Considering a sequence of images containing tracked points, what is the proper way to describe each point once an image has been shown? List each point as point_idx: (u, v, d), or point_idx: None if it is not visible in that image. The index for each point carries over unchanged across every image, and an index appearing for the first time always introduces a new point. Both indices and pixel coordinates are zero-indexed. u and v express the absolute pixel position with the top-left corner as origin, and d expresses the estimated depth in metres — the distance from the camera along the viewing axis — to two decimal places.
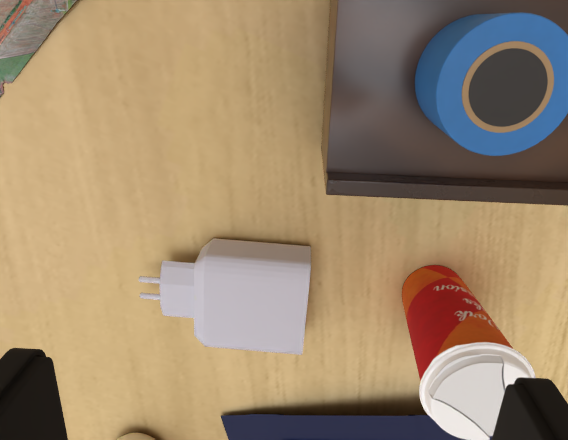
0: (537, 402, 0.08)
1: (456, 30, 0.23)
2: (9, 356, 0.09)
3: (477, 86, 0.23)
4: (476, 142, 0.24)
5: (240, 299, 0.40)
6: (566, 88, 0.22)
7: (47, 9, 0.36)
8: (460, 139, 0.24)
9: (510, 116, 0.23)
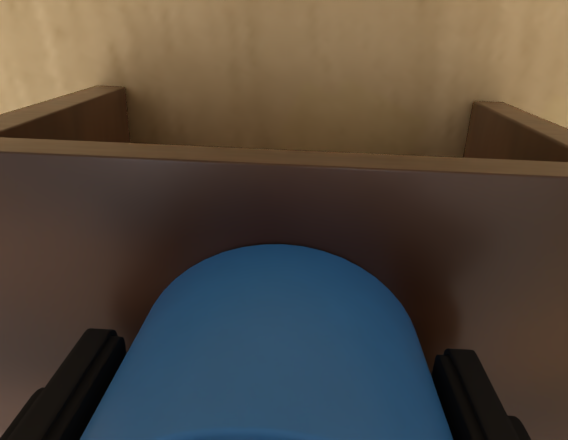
0: (457, 369, 0.09)
1: (137, 361, 0.08)
2: (88, 335, 0.10)
3: None
4: None
5: None
6: None
7: None
8: None
9: None
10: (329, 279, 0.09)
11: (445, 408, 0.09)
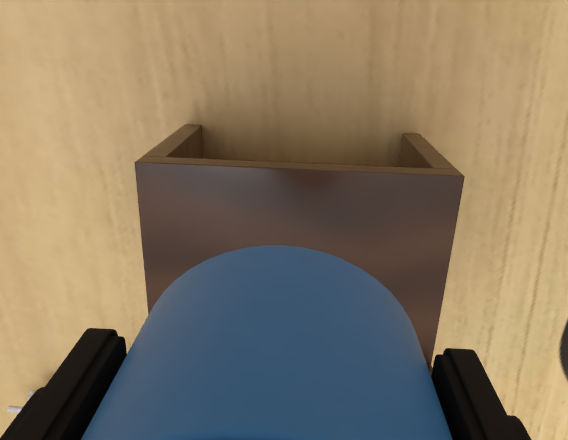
0: (457, 369, 0.09)
1: (137, 362, 0.08)
2: (88, 335, 0.10)
3: None
4: None
5: None
6: None
7: None
8: None
9: None
10: (329, 280, 0.09)
11: (445, 408, 0.09)
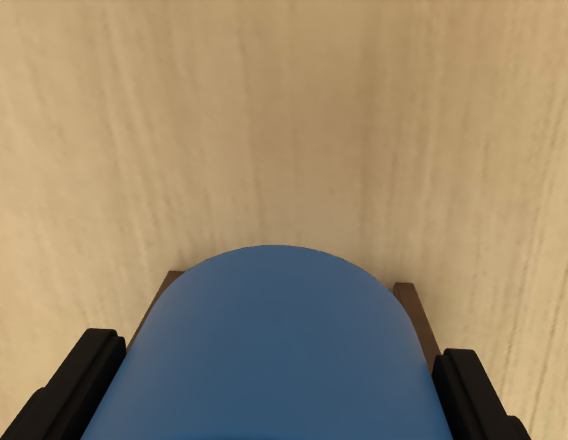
0: (457, 369, 0.09)
1: (137, 362, 0.08)
2: (88, 335, 0.10)
3: None
4: None
5: None
6: None
7: None
8: None
9: None
10: (329, 280, 0.09)
11: (445, 408, 0.09)
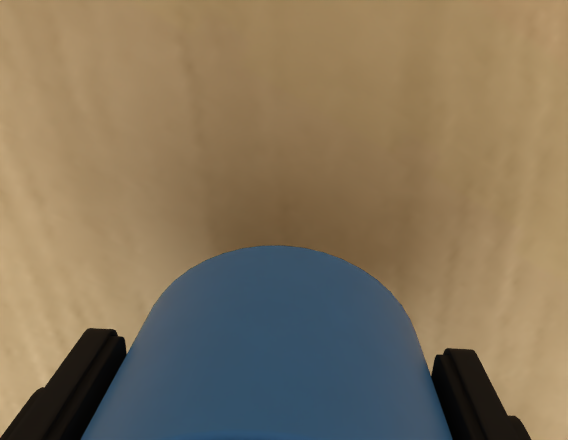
0: (457, 369, 0.09)
1: (137, 363, 0.08)
2: (88, 335, 0.10)
3: None
4: None
5: None
6: None
7: None
8: None
9: None
10: (328, 280, 0.09)
11: (445, 408, 0.09)
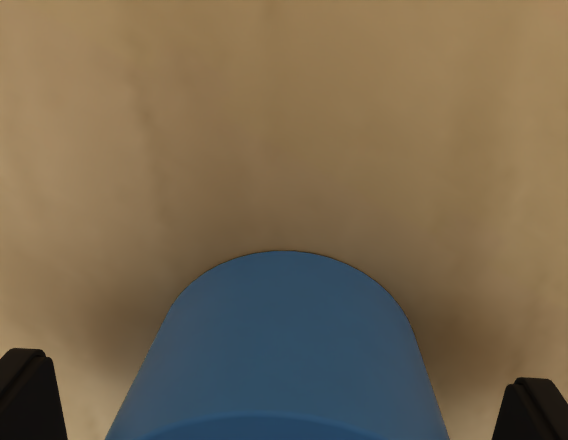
0: (537, 402, 0.08)
1: (162, 355, 0.09)
2: (9, 356, 0.09)
3: None
4: None
5: None
6: None
7: None
8: None
9: None
10: (334, 283, 0.10)
11: None
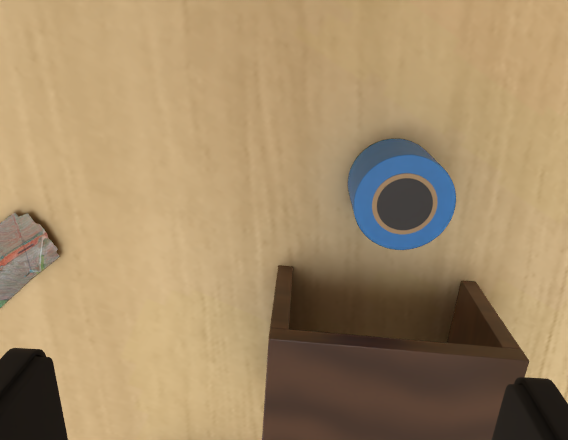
0: (537, 402, 0.08)
1: (372, 157, 0.32)
2: (9, 356, 0.09)
3: (383, 202, 0.31)
4: (383, 240, 0.32)
5: None
6: (446, 206, 0.31)
7: (22, 269, 0.39)
8: (372, 237, 0.32)
9: (407, 223, 0.31)
10: (414, 145, 0.33)
11: None
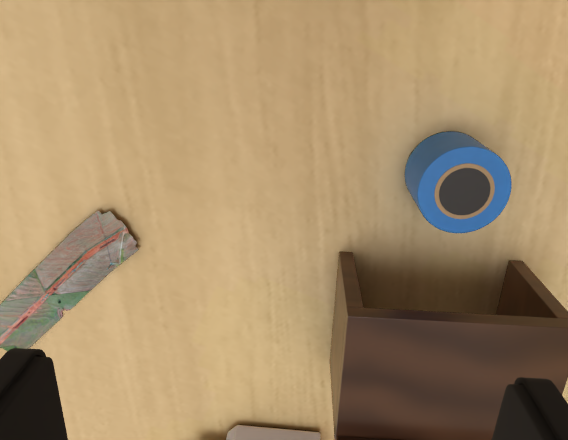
0: (537, 402, 0.08)
1: (431, 149, 0.35)
2: (9, 356, 0.09)
3: (444, 190, 0.34)
4: (444, 225, 0.35)
5: None
6: (503, 192, 0.34)
7: (103, 262, 0.43)
8: (434, 222, 0.35)
9: (466, 208, 0.35)
10: (468, 136, 0.36)
11: None
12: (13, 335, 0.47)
